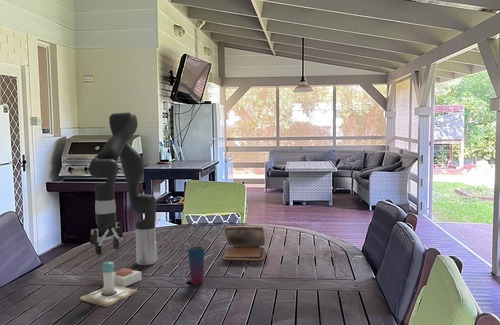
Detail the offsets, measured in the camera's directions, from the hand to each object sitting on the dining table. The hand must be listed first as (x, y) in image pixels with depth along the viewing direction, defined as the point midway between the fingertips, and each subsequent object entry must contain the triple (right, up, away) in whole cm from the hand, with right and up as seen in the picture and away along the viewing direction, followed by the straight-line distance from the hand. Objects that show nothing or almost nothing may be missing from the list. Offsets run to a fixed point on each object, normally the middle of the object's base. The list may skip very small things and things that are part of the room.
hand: (107, 251), depth 178 cm
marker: (0, -16, +2) cm, 17 cm away
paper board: (0, -18, +2) cm, 18 cm away
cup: (+33, -16, +16) cm, 40 cm away
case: (+53, -13, +55) cm, 77 cm away
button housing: (+2, -16, +18) cm, 24 cm away
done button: (+2, -14, +18) cm, 23 cm away
